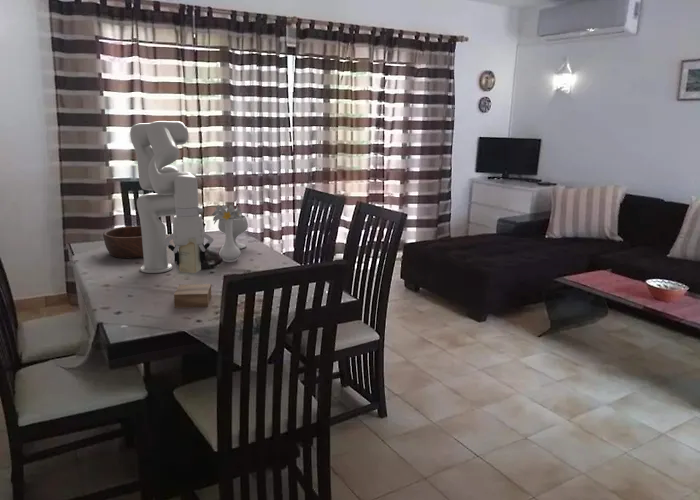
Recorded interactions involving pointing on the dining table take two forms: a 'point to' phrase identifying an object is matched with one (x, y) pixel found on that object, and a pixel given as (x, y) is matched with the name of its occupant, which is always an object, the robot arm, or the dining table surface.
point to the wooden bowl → (124, 242)
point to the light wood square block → (192, 295)
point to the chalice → (235, 229)
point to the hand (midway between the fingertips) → (190, 262)
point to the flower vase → (228, 231)
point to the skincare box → (190, 257)
